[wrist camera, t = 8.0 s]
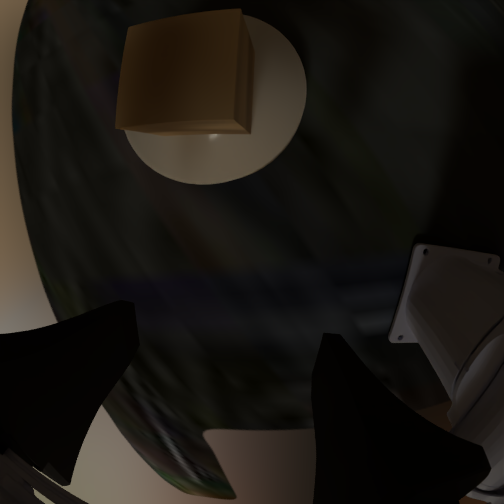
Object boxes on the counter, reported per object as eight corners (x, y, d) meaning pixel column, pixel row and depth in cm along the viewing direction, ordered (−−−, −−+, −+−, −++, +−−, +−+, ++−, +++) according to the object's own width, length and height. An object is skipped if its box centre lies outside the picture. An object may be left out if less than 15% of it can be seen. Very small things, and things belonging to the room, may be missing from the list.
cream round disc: (305, 34, 14) (308, 13, 11) (297, 187, 17) (299, 191, 14) (153, 40, 15) (134, 26, 12) (139, 179, 18) (116, 183, 15)
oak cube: (255, 52, 12) (240, 8, 7) (251, 134, 14) (233, 119, 9) (170, 58, 13) (128, 27, 8) (163, 136, 14) (115, 128, 9)
